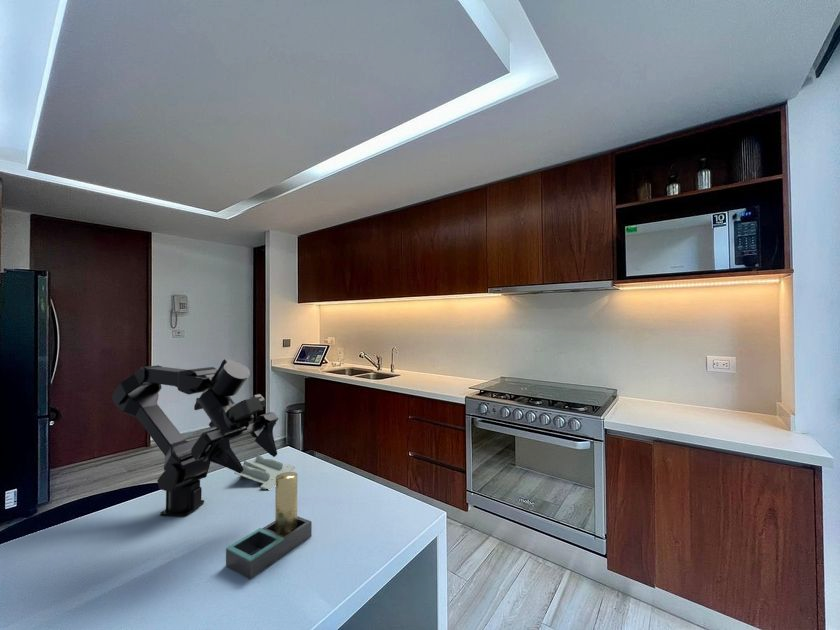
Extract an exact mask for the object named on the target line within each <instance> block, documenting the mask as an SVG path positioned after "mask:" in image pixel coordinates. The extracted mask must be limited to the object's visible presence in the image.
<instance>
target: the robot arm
mask: <svg viewBox="0 0 840 630" xmlns="http://www.w3.org/2000/svg"><path fill="white" fill-rule="evenodd" d="M250 375H251V371H250V369H249V367H247V366H246V365H244V364H243V363H240V362H238V361H234V359H233V358H225V359H223V360H222V361H221V364H220V365H219V367H218V369H217V368H216V367H215V366H214V367H213V366H210V367H200V368H191V369H184V368H183V369H182V368H177V367H176V368H175V367H166V366H162V365H150V366H149V365H148V366H142V367H140V368H137V370H136V371H135V372H134V374H132V375H130V376H129V377H128V378H126V379H124V380H123V381H121V382H120V383H119V385H118V386H117V387H116V389H115V390H114V392H112V395H111V399H112V403H113V404H114V405H115V406H116V407H117V408H118V410H120V411H121V412H122V413H123V414H127V415H130V416H133V417H136V419H137V420H138V422H139V423H140V424H141V425H142V427H143V428H144V430H145V431H146V432H147V433H148V435H149V436H150V437H151V439H152V440H153V442H154V443H155V444H156V445H157V447H158V449H159V450H160V451H161V452H162V454H163V455H164V456H165V457H164V461H163V470H164V471H163V472H162V474H161V475H160V476H159V477H158V479H157V486H158V489H159V490H161V491H165V509H163V510H162V511H161V512H160V513H159V514H160V516H163V517H164V516H170V517H186V516H188V515H189V514H191V513H193V512H194V510H197V509H198V508H199V507H200V506H202V505H203V504H204V503H205V500H204V499H202V487H201V480H203V479H205V478H207V477H208V472H209V469H210V467H211V466H210V465H211V463H214V464H216V465H220V466H223V467H224V468H226V469H229V470H231V471H234V472H235V471H236V472H238V473H241V472H242V471H243V470H244V469H243V467H242V466H243V465H242V463H241V462H240V460H239V458H238V457H237V455H236V454H235V452H234V451H233V449H232V448H231V444H230V443H231V442H230V441H233V440H236V439H238V438H241V437H243V436H247V435H249V434H250V435H251V436H252V438H255V439H254V442H255V443H256V444H257V445H259V446H260V447H261V448H262V449H263V450H264V451H265V452H266V453H268V454H269V455H270V456H271V457H273V458H275V457H277V455H278V450H277V447H276V442H275V439H274V431H273V429H274V427H275V426H276V424H277V422H278V421H279V417H278V416H277V414H276V413H275V412H272V411H271V412H266V413H264V414H260V415H258V416H257V418H256V419H255V420H254V422H253V423H250V422H252V420H253V419H254V417H255V416H254V415H255V414H257V413H259V412H262V411H264V408H265V407H266V406H267V402H266V399H265V397H263V395H262V394H260V393H258V394H254V395H253V396H250V398H248V399H242V400H241V401H239V402H236V403H235V402H234V400H233V398H232V397H233V396H235V395H236V394H237V393H238V392H239V391H240V389H241V388H242V386H243V385H244V384H245V382H246V381H247V380H248V378H250ZM162 385H165V386H171V387H176V388H177V390H178V392H181V393H183V394H186V395H189V396H190V395H195V394H199V393H201V395H199V397H197V398H196V400H195V403H194V405H193V406H194V407H193V409H194V410H193V411H199V410H203V411H204V412H205V414H206V415H207V417H208V419H209V420H210V422H209V423H208V426H209V428H210V429H211V430H208V431H204V432H202V433H201V434H200V435H199V437H198V438H197V439H194V440H191V441H187V440H186V438H184V436H183V435H182V434H181V433H180V431H179V430H178V428H177V427H176V426H175V425H174V423H173V422H172V421H171V420H170V418H169V417H168V416H167V414H166V413H165V412H164V410H163V409H162V408H161V407H160V405H159V404H158V400H159V392H160V391H161V390H162ZM212 428H214V429H212Z"/></svg>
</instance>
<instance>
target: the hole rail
mask: <svg viewBox="0 0 840 630" xmlns="http://www.w3.org/2000/svg"><path fill="white" fill-rule="evenodd" d="M312 527H313V526H312V521H311V520H309V519H306V518H303V517H300V516H299V515H297V528H296V529H295V530H293V531H292V532H290V533H289V534H287V535H286V536H283V535H280V534H278V533H275V520H273V521H272V522H270V523H269V524H267V525H265V526H263V527H262V528H261V527H260V528H258V529H256V530H254V531H253V532H251V533H249V534H247V535H246V536H244V537H242V538H241V539H238V540H237V541H235V542H233V543H232V544H230V545H228V546H227V547H226V548H225V567H226V568H229V569H230V570H232V571H234V572H236V573H238V574H239V575H241V576H243V577H245V578H247V579H249V580H252V579H254V578H255V577H256V576H257V575H259V574H261V573H262V572H263V571H264V570H266V569H267V568H269V567H270V566H272V565H273V564H274V563H275V562H277V561H279V560H280V559H282V558H283V557H284V556H286V555H287V554H288V553H290V552H291V551H293V550H294V549H295V548H297V547H298V546H299V545H301V544H303V543H304V542H305V541H307V540H308V539H310V538H311V537H312ZM259 549H260V550H259ZM257 550H259V551H257ZM256 551H257V552H256ZM254 552H256V553H254ZM252 553H254V554H252ZM251 554H252V555H251Z"/></svg>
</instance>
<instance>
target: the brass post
mask: <svg viewBox="0 0 840 630" xmlns="http://www.w3.org/2000/svg"><path fill="white" fill-rule="evenodd" d="M274 504H275V506H274V508H275V509H274V513H275V516H274V517H275V519H274V521H275V533H278V534H280V535H283V536H286V535H287V534H289V533H290V532H292V531H293V530H295V529H296V528H297V516H298V473H297V472H295V471H292V472H285V473H281V474H279V475H277V476H276V487H275V503H274Z"/></svg>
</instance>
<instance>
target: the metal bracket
mask: <svg viewBox="0 0 840 630" xmlns="http://www.w3.org/2000/svg"><path fill="white" fill-rule="evenodd" d="M242 464H243V465H242V467H243V469H244V470H243V471H242V472H241V473H238V472H236V471H234V475H237V476H239V479H238V480H242V479H243V478H246V479H249V480H252V481H254V482H257V483H260V484H261V485H260V488H261V489H263V490H266V489H271V488H272V487H273V486H275V485H276V476H277V475H279V474H281V473H285V472H291V471H292V470H294V469H295V468H296V469H297V467H296V466H295V465H292V464H288V463H287V464H286V465H284V463H282V462H280V461H279V460H278V461H277V460H275V459H271V458H270V459H269V458H264V457H263V456H261V455H260V454H258V455H256V457H255V458H253V459H252V460H250V461H247V460H243V463H242ZM296 469H295V470H296ZM295 470H294V471H295ZM292 472H293V471H292ZM242 477H243V478H242Z"/></svg>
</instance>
